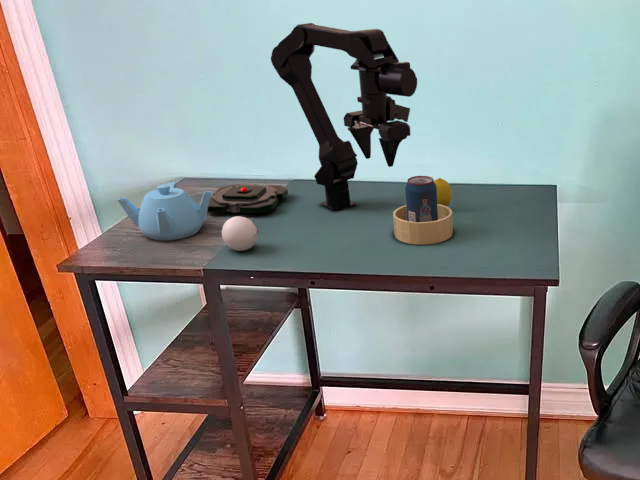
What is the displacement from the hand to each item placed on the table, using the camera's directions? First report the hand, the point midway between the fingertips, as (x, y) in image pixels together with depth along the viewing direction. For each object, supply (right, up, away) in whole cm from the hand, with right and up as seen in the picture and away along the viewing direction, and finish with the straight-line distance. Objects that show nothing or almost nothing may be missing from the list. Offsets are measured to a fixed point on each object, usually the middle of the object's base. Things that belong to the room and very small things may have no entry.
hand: (379, 162), depth 167 cm
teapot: (-47, -17, -1) cm, 50 cm away
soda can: (+10, -17, -4) cm, 20 cm away
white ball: (-28, -21, -10) cm, 37 cm away
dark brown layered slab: (-36, -7, +14) cm, 39 cm away
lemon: (+14, -9, +10) cm, 19 cm away
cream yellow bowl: (+11, -17, -4) cm, 21 cm away
